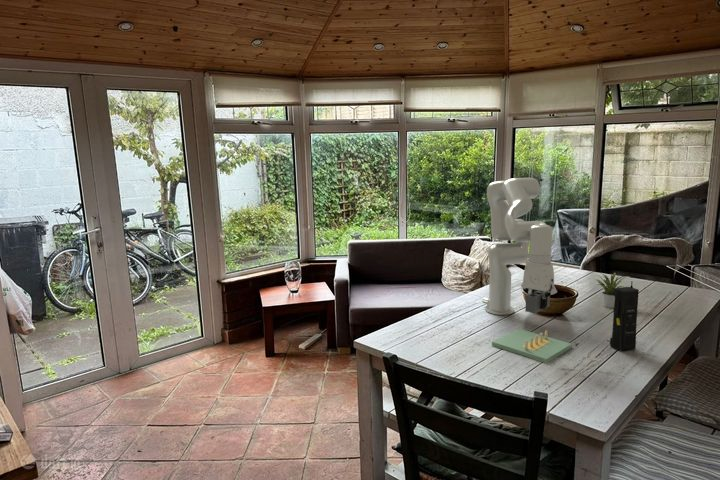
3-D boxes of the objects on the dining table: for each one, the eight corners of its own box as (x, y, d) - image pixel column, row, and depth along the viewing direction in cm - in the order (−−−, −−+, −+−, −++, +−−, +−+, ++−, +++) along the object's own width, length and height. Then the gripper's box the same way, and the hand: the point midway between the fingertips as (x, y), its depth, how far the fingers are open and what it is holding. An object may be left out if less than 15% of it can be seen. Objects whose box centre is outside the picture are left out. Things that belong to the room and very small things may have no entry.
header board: (491, 345, 183) (492, 332, 182) (518, 332, 195) (518, 320, 194) (546, 363, 167) (547, 349, 166) (571, 347, 179) (572, 334, 178)
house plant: (620, 301, 230) (623, 268, 227) (634, 310, 216) (637, 275, 213) (590, 301, 231) (592, 268, 228) (601, 310, 218) (603, 275, 215)
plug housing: (525, 311, 174) (525, 295, 173) (540, 304, 181) (541, 289, 180) (534, 313, 172) (535, 297, 170) (549, 306, 179) (550, 291, 177)
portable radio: (619, 352, 173) (624, 286, 169) (606, 346, 179) (611, 281, 174) (637, 349, 175) (642, 284, 171) (624, 343, 181) (629, 279, 177)
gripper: (513, 257, 177) (512, 304, 180) (556, 264, 165) (554, 314, 168) (524, 254, 182) (522, 300, 185) (567, 260, 169) (564, 309, 173)
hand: (537, 306), depth 176 cm, fingers closed on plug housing, 3 cm apart
